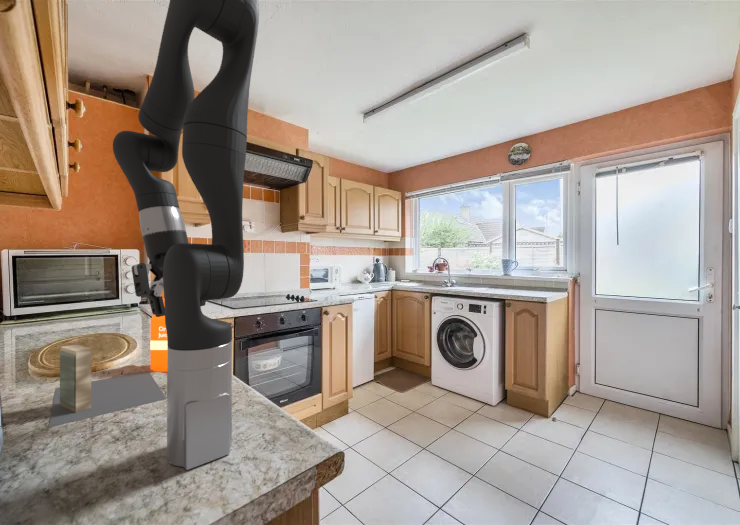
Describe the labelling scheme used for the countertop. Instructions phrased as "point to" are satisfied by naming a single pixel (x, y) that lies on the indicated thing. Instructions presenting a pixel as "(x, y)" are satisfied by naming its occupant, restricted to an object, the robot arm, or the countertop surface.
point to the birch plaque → (75, 377)
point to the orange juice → (158, 343)
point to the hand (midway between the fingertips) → (182, 310)
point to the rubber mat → (110, 397)
